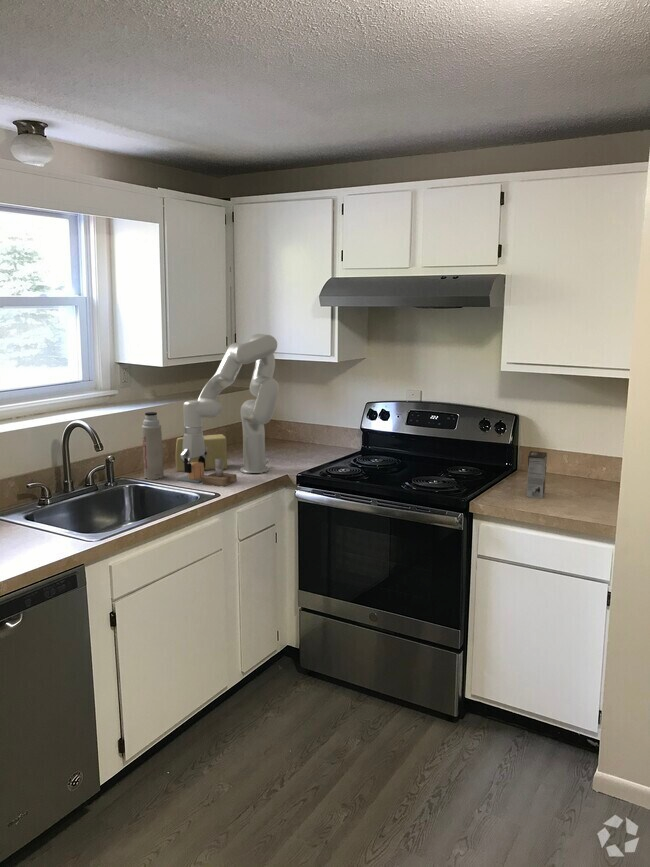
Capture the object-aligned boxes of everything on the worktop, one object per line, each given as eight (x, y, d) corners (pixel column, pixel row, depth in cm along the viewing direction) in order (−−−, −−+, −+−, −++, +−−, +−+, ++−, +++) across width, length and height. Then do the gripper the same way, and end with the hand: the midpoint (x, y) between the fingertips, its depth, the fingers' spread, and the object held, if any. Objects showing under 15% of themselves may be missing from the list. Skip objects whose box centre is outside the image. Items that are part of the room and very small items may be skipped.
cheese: (177, 473, 314) (176, 440, 311) (174, 469, 323) (173, 436, 320) (227, 469, 321) (226, 436, 319) (223, 465, 330) (222, 432, 328)
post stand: (216, 478, 304) (215, 455, 303) (236, 481, 300) (235, 457, 298) (202, 484, 296) (201, 460, 294) (222, 486, 291) (222, 462, 289)
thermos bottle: (145, 480, 303) (142, 414, 298) (143, 476, 310) (139, 411, 305) (164, 478, 306) (161, 413, 300) (162, 474, 313) (159, 410, 308)
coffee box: (528, 491, 282) (530, 450, 279) (545, 492, 279) (547, 452, 277) (525, 497, 273) (527, 455, 271) (543, 498, 271) (545, 456, 268)
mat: (192, 474, 312) (192, 473, 311) (213, 477, 307) (213, 476, 307) (176, 480, 302) (176, 479, 302) (198, 483, 297) (198, 481, 297)
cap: (207, 476, 306) (206, 462, 305) (198, 480, 300) (197, 465, 299) (194, 475, 309) (194, 461, 308) (185, 478, 303) (184, 464, 302)
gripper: (198, 426, 310) (200, 465, 313) (173, 433, 295) (175, 473, 298) (213, 427, 307) (214, 466, 310) (188, 434, 291) (189, 475, 294)
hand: (195, 470), depth 304 cm, fingers open, 9 cm apart
